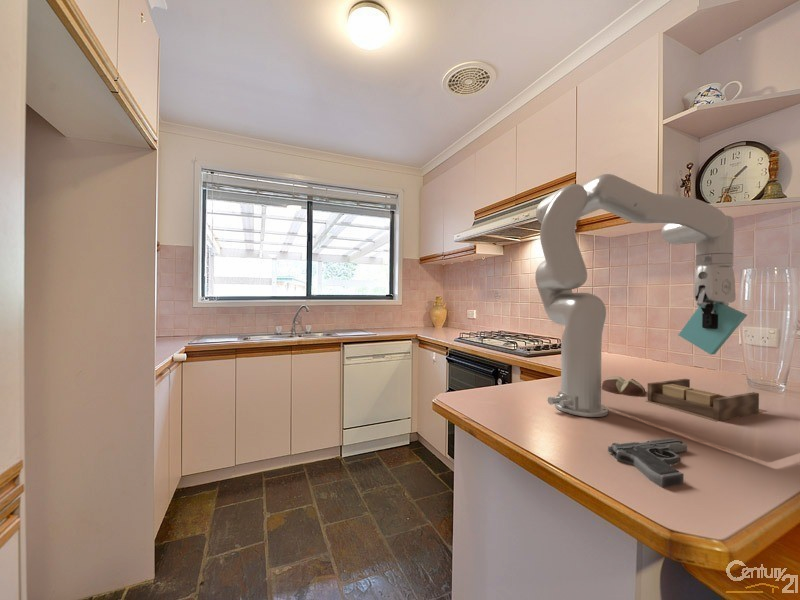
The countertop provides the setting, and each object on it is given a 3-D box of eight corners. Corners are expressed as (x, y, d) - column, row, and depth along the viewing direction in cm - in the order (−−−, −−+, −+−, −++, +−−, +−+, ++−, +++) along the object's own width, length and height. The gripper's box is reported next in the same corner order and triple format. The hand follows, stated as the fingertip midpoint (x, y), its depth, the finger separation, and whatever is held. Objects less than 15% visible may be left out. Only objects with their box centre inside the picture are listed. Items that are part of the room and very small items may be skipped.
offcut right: (709, 416, 80) (709, 395, 80) (686, 409, 85) (686, 390, 85) (719, 414, 82) (719, 394, 82) (695, 407, 86) (695, 389, 86)
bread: (608, 387, 110) (608, 372, 110) (649, 395, 101) (649, 379, 101) (595, 393, 103) (595, 377, 103) (637, 402, 95) (637, 385, 94)
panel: (710, 354, 89) (742, 314, 83) (678, 335, 96) (705, 297, 90) (714, 354, 89) (747, 314, 83) (682, 334, 97) (710, 297, 90)
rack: (715, 425, 77) (716, 400, 77) (645, 404, 92) (645, 383, 92) (767, 414, 84) (767, 391, 84) (694, 397, 99) (694, 377, 99)
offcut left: (683, 408, 85) (683, 389, 85) (662, 402, 90) (662, 385, 90) (692, 407, 87) (693, 388, 87) (671, 401, 92) (672, 383, 91)
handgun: (740, 463, 55) (668, 433, 67) (661, 475, 51) (599, 441, 63) (740, 477, 55) (667, 445, 67) (661, 491, 51) (598, 454, 63)
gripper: (713, 258, 83) (712, 330, 83) (748, 261, 88) (747, 329, 88) (679, 261, 90) (678, 327, 90) (714, 264, 95) (713, 326, 95)
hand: (712, 327), depth 89 cm, fingers closed on panel, 1 cm apart
